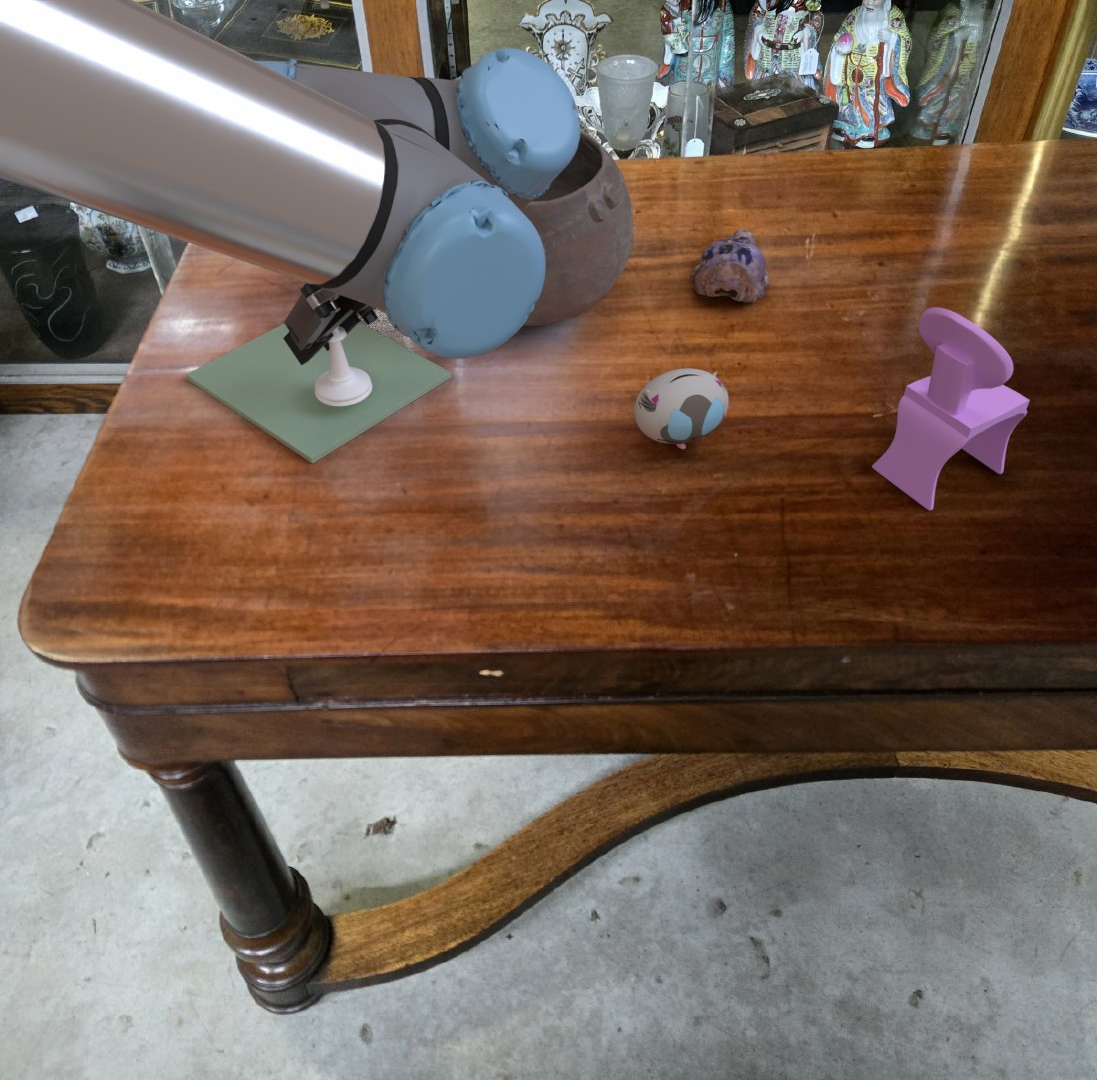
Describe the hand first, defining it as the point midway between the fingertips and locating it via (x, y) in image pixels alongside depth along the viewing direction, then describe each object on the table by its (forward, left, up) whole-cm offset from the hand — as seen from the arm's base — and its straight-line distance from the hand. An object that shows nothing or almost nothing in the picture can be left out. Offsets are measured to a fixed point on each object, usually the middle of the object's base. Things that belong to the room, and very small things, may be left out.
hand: (308, 342), depth 90 cm
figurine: (+15, -29, -5) cm, 33 cm away
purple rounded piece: (+39, -18, -5) cm, 43 cm away
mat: (+1, +1, -5) cm, 5 cm away
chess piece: (0, -4, -3) cm, 5 cm away
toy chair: (+26, -47, -5) cm, 54 cm away
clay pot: (+23, -4, -5) cm, 24 cm away
